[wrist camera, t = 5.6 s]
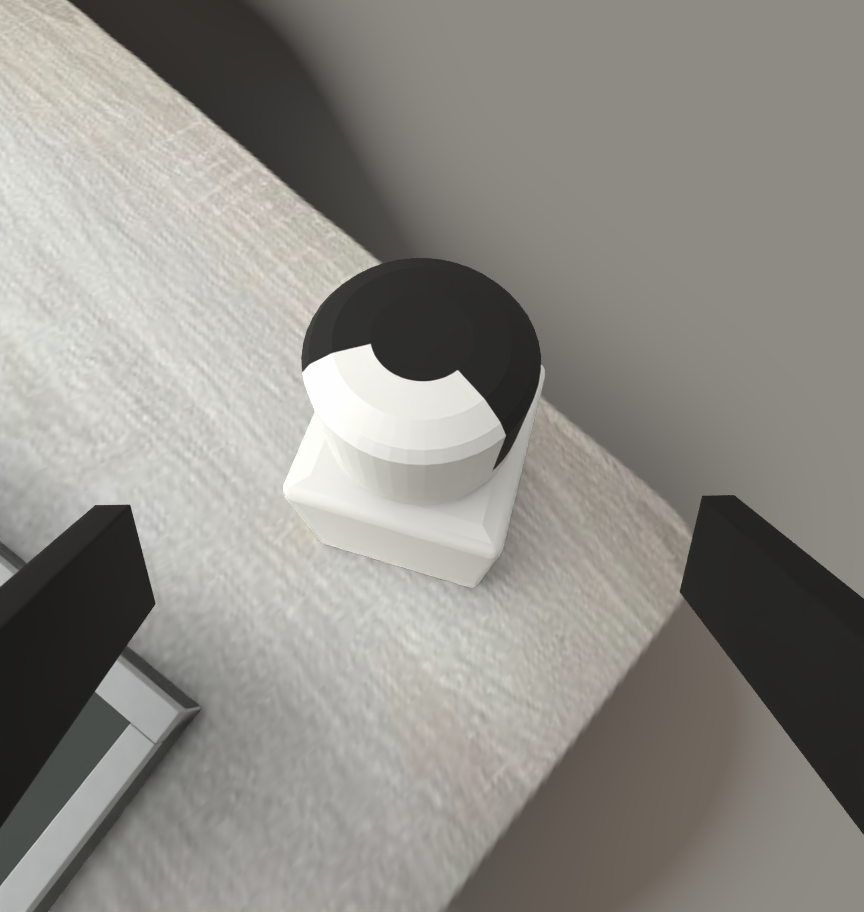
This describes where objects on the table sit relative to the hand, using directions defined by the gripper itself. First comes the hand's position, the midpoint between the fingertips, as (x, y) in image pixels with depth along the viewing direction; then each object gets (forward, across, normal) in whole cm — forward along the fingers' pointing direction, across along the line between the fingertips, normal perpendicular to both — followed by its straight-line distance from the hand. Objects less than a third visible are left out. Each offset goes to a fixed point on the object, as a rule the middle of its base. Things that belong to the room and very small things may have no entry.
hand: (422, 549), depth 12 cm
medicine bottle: (+11, 0, -4) cm, 12 cm away
